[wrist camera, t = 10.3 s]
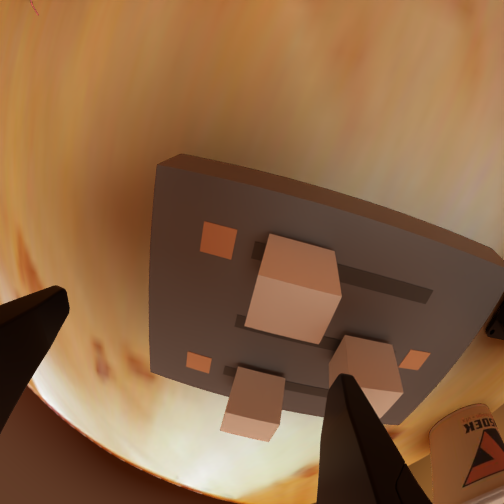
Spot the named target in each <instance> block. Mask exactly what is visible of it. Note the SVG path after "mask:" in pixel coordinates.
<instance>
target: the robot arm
mask: <svg viewBox="0 0 504 504" xmlns="http://www.w3.org/2000/svg"><path fill="white" fill-rule="evenodd" d="M69 310H70V307H69V302H68V297H67V292H66V290H65V289H64V288H62V287H60V286H57V285H55V286H52V287H49V288H46V289H43V290H40V291H38V292H35V293H32V294H29V295H27V296H24V297H21V298H18V299H16V300H13V301H10V302H7V303H5V304H2V305H0V434H1V432H2V430H3V427H4V426H5V424H6V422H7V420H8V418H9V416H10V414H11V413H12V411H13V409H14V407H15V405H16V404H17V402H18V400H19V398H20V396H21V395H22V393H23V391H24V389H25V388H26V386H27V384H28V383H29V381H30V379H31V378H32V376H33V374H34V373H35V371H36V370H37V368H38V366H39V365H40V363H41V362H42V360H43V358H44V357H45V355H46V354H47V352H48V351H49V349H50V347H51V345H52V344H53V342H54V340H55V338H56V336H57V334H58V332H59V330H60V329H61V327H62V325H63V323H64V321H65V319H66V318H67V316H68V314H69ZM485 332H486V334H487V336H488V337H492V338H497V339H502V340H504V302H503V303H502V305H501V306H500V308H499V310H498V311H497V313H496V314H495V316H494V318H493V319H492V321H491V322H490V324H489V325H488V327H487V328H486V331H485ZM404 463H405V461H404V459H403V458H402V456H401V454H400V452H399V451H398V449H397V447H396V446H395V444H394V442H393V441H392V439H391V437H390V436H389V434H388V432H387V430H386V429H385V427H384V425H383V424H382V422H381V420H380V419H379V417H378V415H377V414H376V412H375V410H374V409H373V407H372V406H371V404H370V402H369V401H368V399H367V397H366V396H365V394H364V392H363V391H362V389H361V387H360V386H359V384H358V383H357V381H356V379H355V378H354V376H353V375H350V374H344V373H340V374H339V375H338V376H337V378H336V379H335V381H334V382H333V384H332V385H331V387H330V388H329V390H328V394H327V400H326V407H325V414H324V420H323V426H322V433H321V442H320V462H319V478H318V492H317V504H432V502H431V501H430V500H429V498H428V497H427V496H426V494H425V493H424V491H423V490H422V488H421V487H420V486H419V484H418V482H417V481H416V479H415V478H414V476H413V474H412V473H411V471H410V469H409V468H408V466H407V464H404Z"/></svg>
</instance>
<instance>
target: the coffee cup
mask: <svg viewBox="0 0 504 504" xmlns="http://www.w3.org/2000/svg"><path fill="white" fill-rule="evenodd" d="M429 442H430V454H431V467H432V484H433V504H503V503H504V443H503V441H502V438H501V436H500V433H499V431H498V428H497V426H496V423H495V421H494V419H493V416H492V414H491V412H490V410H489V408H488V407H487V406H486V405H484V404H474V405H470V406H467V407H464V408H461V409H459V410H457V411H455V412H453V413H451V414H449V415H448V416H446V417H445V418H443V419H442V420H440V421H439V422H438V423H437V424H436V425H435V426H434V427H433V428H432V429H431V431H430V434H429Z"/></svg>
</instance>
